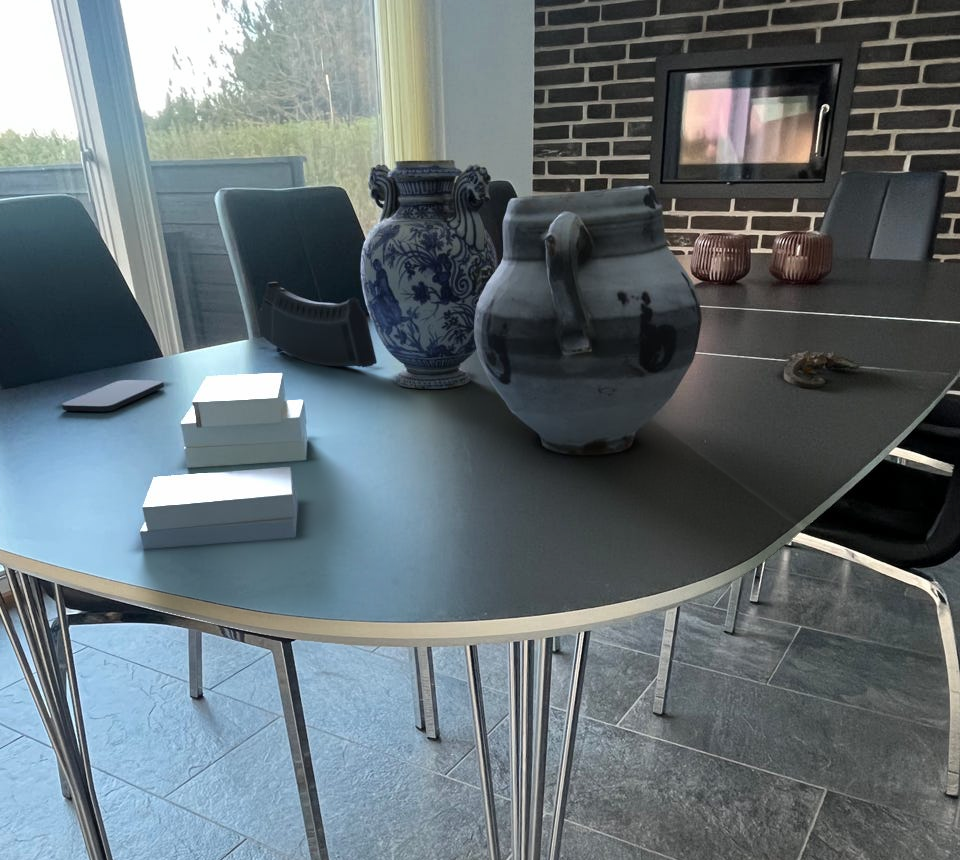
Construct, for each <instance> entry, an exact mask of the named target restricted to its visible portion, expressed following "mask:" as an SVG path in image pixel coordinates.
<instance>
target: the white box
mask: <svg viewBox="0 0 960 860" xmlns="http://www.w3.org/2000/svg"><path fill="white" fill-rule="evenodd" d="M297 495H298V494H297V489H295V488H294V481H293V473H292V467H291V466H281V467H268V468H254V469H243V470H231V471H218V472H207V473H193V474H181V475H171V476H170V475H168V476H157V477H153V479H152V482H151V483H150V487H149V489H148V492H147V494H146V496H145V500H144V502H143V505H142V507H141V508H142V513H143V517H144V523H143V525H142V526H141V529H140V530H139V535H140V539H141V544H142V549H143V550H149V549H161V548H174V547H176V548H177V547H188V546H201V545H214V544H226V543H240V542H252V541H253V542H254V541H266V540H278V539H280V540H281V539H293V538H296V536H297V521H298V508H299V502H298V496H297Z"/></svg>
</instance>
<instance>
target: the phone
mask: <svg viewBox="0 0 960 860" xmlns="http://www.w3.org/2000/svg"><path fill="white" fill-rule="evenodd" d="M164 387H165V384H164V381H163V380H148V379H147V380H143V379H121V380H117V381H113V382H112V383H109V384H107V385H105V386H102V387H99V388H96V389H95V390H92V391H89V392H87V393H85V394H82V395H80V396H77V397H75V398H73V399H70V400H67V401H65V402H62V404H61V407H62V410H63V411H66V412H67V411H70V412H99V413H100V412H111V411H114V410H118V409H119V408H121V407H123V406H125V405H127V404H130V403H133V402H135V401H137V400H138V399H141V398H144V397H145V396H147V395H150V394H152V393H154V392H156V391H158V390H160V389H161V390H162V389H163V388H164Z"/></svg>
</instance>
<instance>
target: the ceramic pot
mask: <svg viewBox="0 0 960 860" xmlns="http://www.w3.org/2000/svg"><path fill="white" fill-rule="evenodd" d="M663 211H664V210H663V205H662V204H661V202H660V200H659V198H658V196H657V192H656V190H655V187H654V186H652V185H647V186H645V185H636V186H623V187H617V188H606V189H597V190H596V189H595V190H587V191H585V190H584V191H574V192H566V193H558V194H557V193H555V194H554V193H553V194H552V193H550V194H540V195H529V196H528V195H527V196H519V197H518V196H517V197H512V198H510V199H509V201H508V203H507V206H506V211H505V214H504V217H503V219H502V244H503V245H502V249H503V252H502V259H501V262H500V264H499V265H498V268H497V270H496V271H495V272H494V274H493V275H492V277H491V278H490V280H489V281H488V282H487V284H486V286H485V288H484V290H483V292H482V294H481V296H480V298H479V301H478V303H477V307H476V313H475V319H474V339H475V343H476V348H477V349H476V350H477V352H476V353H477V356H478V359H479V362H480V364H481V366H482V368H483V370H484V372H485V374H486V376H487V378H488V380H489V382H490V383H491V385H492V386H493V388H494V389H495V391H496V392H497V394H498V395H499V396H500V397H501V399H502V400H503V401H504V403H505V404H506V405H507V407H508V409H509V410H510V412H511V413H512V414H513V415H515V416H516V417H517V418H518V419H519V420H520V421H521V422H523V423H524V424H525V425H527V426H528V427H529V428H531V429H532V430H533V431H534V432H536V433H537V434H538V435H539V437H540V440H541V441H540V442H541V445H542V447H544V448H545V449H547V450H550V451H551V452H555V453H560V454H564V455H574V456H598V455H607V454H614V453H619V452H623V451H625V450H627V449H629V448H630V447H632V446H633V442H634V439H635V436H636V433H637V431H638V430H639V429H640V428H642V427H643V426H644V425H645V424H646V423H647V422H648V421H649V420H651V419H652V417H654V416H655V415H656V414H657V413H658V412H659V411H660V410H662V409H663V407H664V406H665V405H666V404H667V402H669V400H671V398H672V397H673V395H674V394H675V392H676V391H677V389H678V387H679V386H680V384H681V382H682V381H683V380H684V377H685V376H686V374H687V372H688V371H689V369H690V367H691V365H692V364H693V362H694V359H695V355H696V353H697V349H698V345H699V339H700V334H701V327H702V321H703V318H702V317H703V315H702V309H701V303H700V302H701V301H700V298H699V295H698V293H697V290H696V288H695V285H694V282H693V280H692V279H691V276H690V275H689V274H688V272H687V270H686V269H685V267H684V266H683V265H682V263H681V262H680V261H679V259H678V258H677V256H676V255H675V254H674V253H673V252H672V250H671V249H670V247H669V245H668V241H667V236H666V230H665V229H666V228H665V223H664V222H665V221H664V212H663Z"/></svg>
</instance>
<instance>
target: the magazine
mask: <svg viewBox="0 0 960 860" xmlns="http://www.w3.org/2000/svg"><path fill="white" fill-rule="evenodd" d="M367 317H368V316H367V314H366V312H365V311H364V310H363V308H362V307H361V303H360V300H359V299H358V298H356V297H350V298H349V299H347V300H346V301H344V302H341V303H333V302H319V301H313V300H309V299H307V298H304V297H301V296H298V295H296V294H294V293H292V292H289V291H288V290H287V289H286V288H283V287H281V286H280V284H279V282H277V281H269V282H267V283H266V291H265V294H264V295H263V297H262V301H261V307H260V309H259V334H260V336H261V337H262V338H264V340H266V341H268V342H269V343H270V344H272V345H273V346H274V347H276V352H277V353H281V352H282V353H283V352H285V353H287V354H288V355H290V356H292V357H293V358H296V359H298V360H301V361H304V362H306V363H311V364H314V365H319V366H326V367H358V368H366V367H372V366H373V365H376V364H377V363H378V361H377V356H376V352H375V348H374V344H373V339H372V334H371V330H370V326H369V322H368V321H369V320H368V318H367Z"/></svg>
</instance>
